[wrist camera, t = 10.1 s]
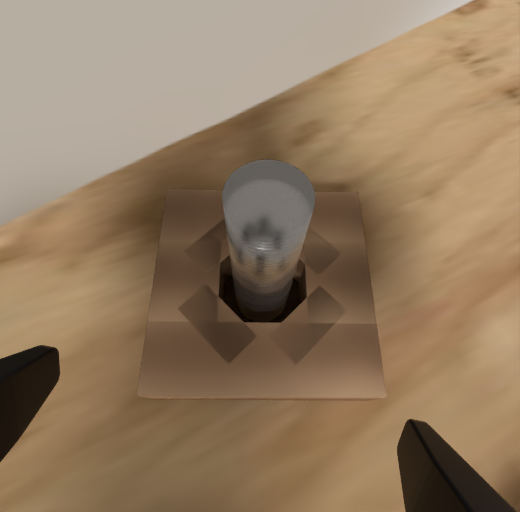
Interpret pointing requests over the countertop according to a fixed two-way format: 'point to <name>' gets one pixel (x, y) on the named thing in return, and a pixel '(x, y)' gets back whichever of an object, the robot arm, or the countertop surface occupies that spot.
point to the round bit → (266, 233)
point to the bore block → (255, 333)
